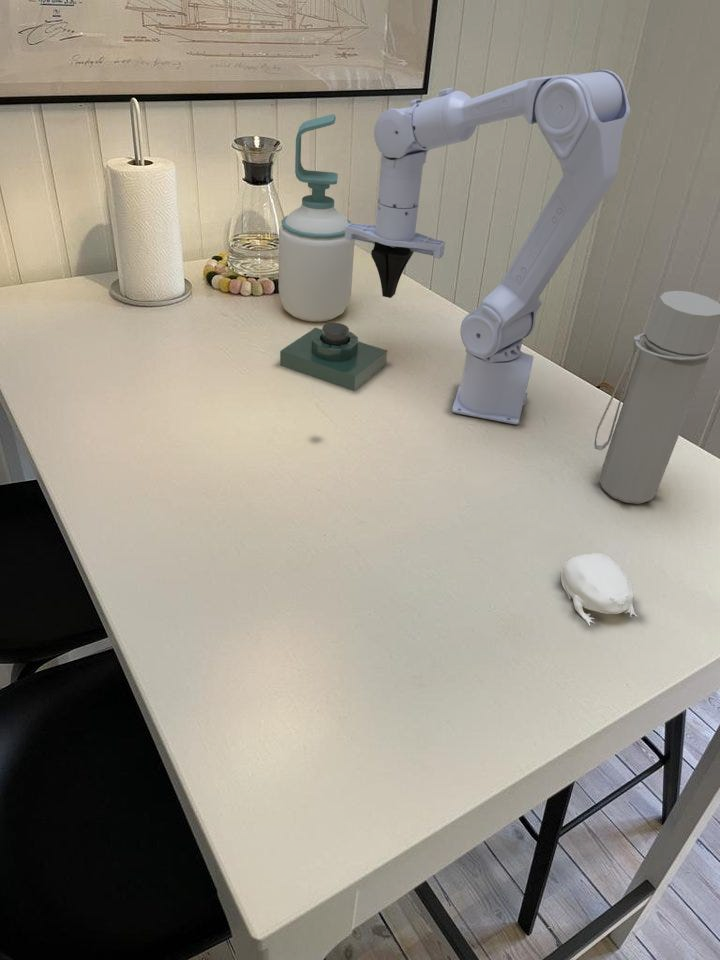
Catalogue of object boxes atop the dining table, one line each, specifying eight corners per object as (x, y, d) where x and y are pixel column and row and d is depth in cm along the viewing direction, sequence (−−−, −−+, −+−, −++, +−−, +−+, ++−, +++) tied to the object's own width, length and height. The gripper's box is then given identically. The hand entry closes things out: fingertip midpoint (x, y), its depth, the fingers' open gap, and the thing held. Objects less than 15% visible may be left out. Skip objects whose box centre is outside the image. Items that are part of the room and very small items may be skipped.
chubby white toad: (644, 619, 77) (655, 593, 75) (586, 630, 75) (596, 603, 73) (603, 566, 83) (612, 540, 81) (548, 575, 81) (556, 549, 79)
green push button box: (385, 364, 117) (388, 338, 114) (354, 391, 110) (356, 363, 107) (314, 341, 121) (315, 315, 119) (279, 365, 114) (280, 338, 112)
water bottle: (656, 479, 97) (726, 296, 82) (655, 514, 91) (730, 324, 76) (584, 462, 99) (640, 280, 84) (578, 495, 93) (637, 306, 78)
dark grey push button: (352, 339, 114) (353, 327, 113) (339, 349, 111) (340, 337, 110) (330, 332, 115) (331, 320, 114) (316, 342, 112) (317, 329, 111)
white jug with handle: (348, 329, 126) (362, 128, 107) (274, 324, 125) (275, 121, 107) (350, 299, 136) (363, 110, 117) (281, 294, 135) (283, 104, 117)
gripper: (455, 204, 106) (442, 295, 114) (360, 186, 109) (353, 276, 117) (441, 218, 100) (428, 312, 108) (341, 198, 104) (336, 291, 112)
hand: (388, 294), depth 113 cm, fingers closed
